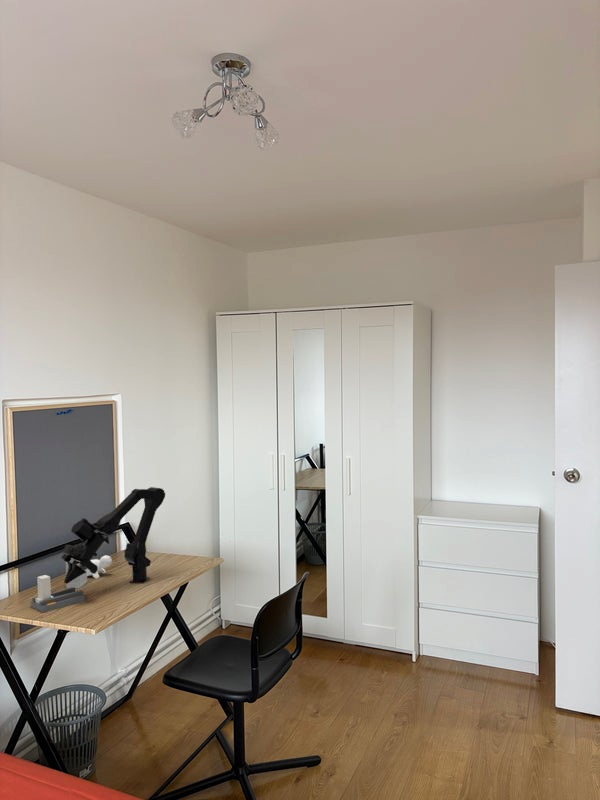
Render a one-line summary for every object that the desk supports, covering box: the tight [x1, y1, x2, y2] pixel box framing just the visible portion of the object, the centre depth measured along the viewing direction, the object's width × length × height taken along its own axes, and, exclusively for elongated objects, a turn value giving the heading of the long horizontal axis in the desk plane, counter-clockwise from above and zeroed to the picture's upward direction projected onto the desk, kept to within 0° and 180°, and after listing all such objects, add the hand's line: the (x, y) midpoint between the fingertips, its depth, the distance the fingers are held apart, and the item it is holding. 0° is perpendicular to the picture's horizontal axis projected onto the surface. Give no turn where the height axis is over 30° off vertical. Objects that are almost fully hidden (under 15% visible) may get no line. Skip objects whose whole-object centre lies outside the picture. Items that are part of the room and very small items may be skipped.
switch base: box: [30, 587, 86, 613], centre depth 227 cm, size 16×10×4 cm, turn 137°
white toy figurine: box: [87, 555, 113, 580], centre depth 262 cm, size 9×8×15 cm
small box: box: [65, 562, 88, 589], centre depth 249 cm, size 8×6×10 cm
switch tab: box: [35, 574, 53, 604], centre depth 223 cm, size 5×4×9 cm
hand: (65, 583), depth 229 cm, fingers closed
